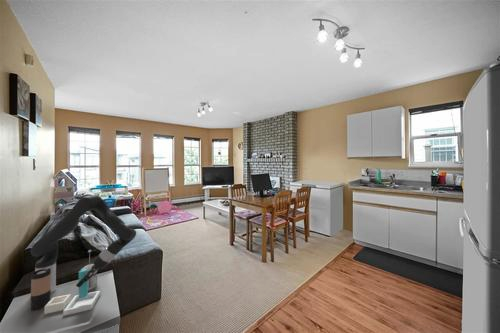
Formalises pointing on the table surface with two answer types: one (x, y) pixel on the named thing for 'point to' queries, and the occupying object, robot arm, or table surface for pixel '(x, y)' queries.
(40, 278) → the travel mug
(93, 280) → the french press
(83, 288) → the dowel
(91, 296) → the tray
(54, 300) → the square box
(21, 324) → the table surface
